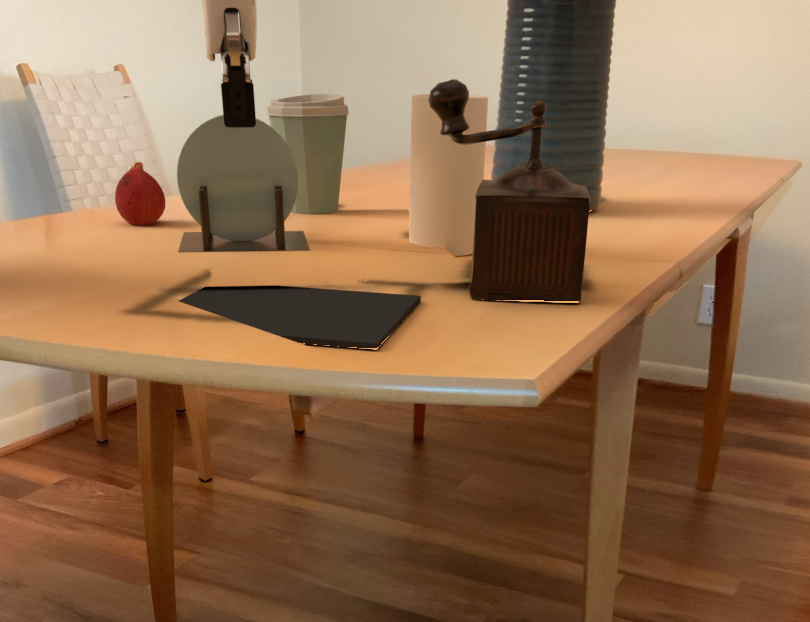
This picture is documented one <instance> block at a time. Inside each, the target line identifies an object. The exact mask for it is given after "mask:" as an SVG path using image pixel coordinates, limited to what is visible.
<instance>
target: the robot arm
mask: <svg viewBox="0 0 810 622" xmlns="http://www.w3.org/2000/svg"><path fill="white" fill-rule="evenodd" d="M201 3H202V13H203V25H204V37H205V49H206V58H207V59H208V60H209V61H210V62H216V55H219V54H220V61H221V71H222V72H221V73H222V74H221V75H222V82H221V83H220V92H221V104H222V115H223V116H224V125H225V126H226V127H228V128H237V127H255V125H256V118H257V116H256V103H255V86H254V83H253V79H251V67H250V65H251V64H250V62H252V61H254V59H256V52H257V36H258V35H257V33H258V32H257V31H258V30H257V29H258V28H257V26H258V22H257V21H258V20H257V19H258V18H257V17H258V16H257V0H201Z"/></svg>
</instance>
